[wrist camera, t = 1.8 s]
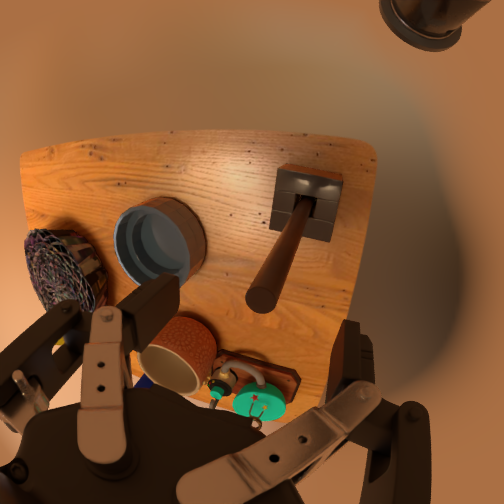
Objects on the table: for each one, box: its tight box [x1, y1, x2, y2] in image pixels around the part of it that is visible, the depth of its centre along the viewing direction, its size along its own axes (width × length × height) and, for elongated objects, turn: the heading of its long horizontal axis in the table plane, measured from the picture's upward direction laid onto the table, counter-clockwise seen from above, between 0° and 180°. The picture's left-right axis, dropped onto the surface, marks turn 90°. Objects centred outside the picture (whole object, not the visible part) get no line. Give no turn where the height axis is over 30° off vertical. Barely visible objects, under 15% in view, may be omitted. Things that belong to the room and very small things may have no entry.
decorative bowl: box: [24, 229, 108, 312], centre depth 53 cm, size 26×28×10 cm
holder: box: [269, 163, 343, 242], centre depth 34 cm, size 7×7×6 cm
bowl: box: [113, 197, 205, 288], centre depth 43 cm, size 14×14×6 cm
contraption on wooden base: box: [203, 349, 301, 430], centre depth 46 cm, size 14×18×15 cm
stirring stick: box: [245, 195, 315, 314], centre depth 26 cm, size 2×2×26 cm
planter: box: [137, 317, 217, 396], centre depth 48 cm, size 12×12×11 cm
